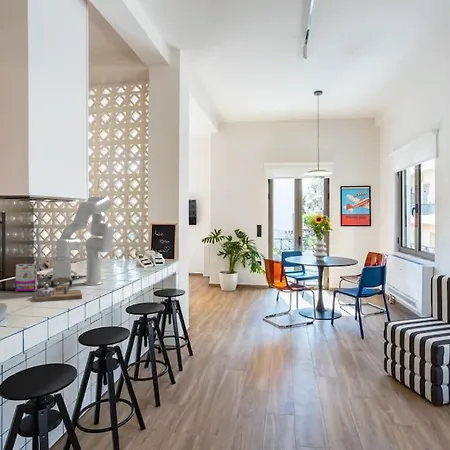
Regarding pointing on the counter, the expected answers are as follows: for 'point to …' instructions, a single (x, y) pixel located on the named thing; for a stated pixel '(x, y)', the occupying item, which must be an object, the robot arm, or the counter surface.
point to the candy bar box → (26, 277)
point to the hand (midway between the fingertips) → (61, 286)
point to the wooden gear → (61, 288)
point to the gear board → (56, 294)
